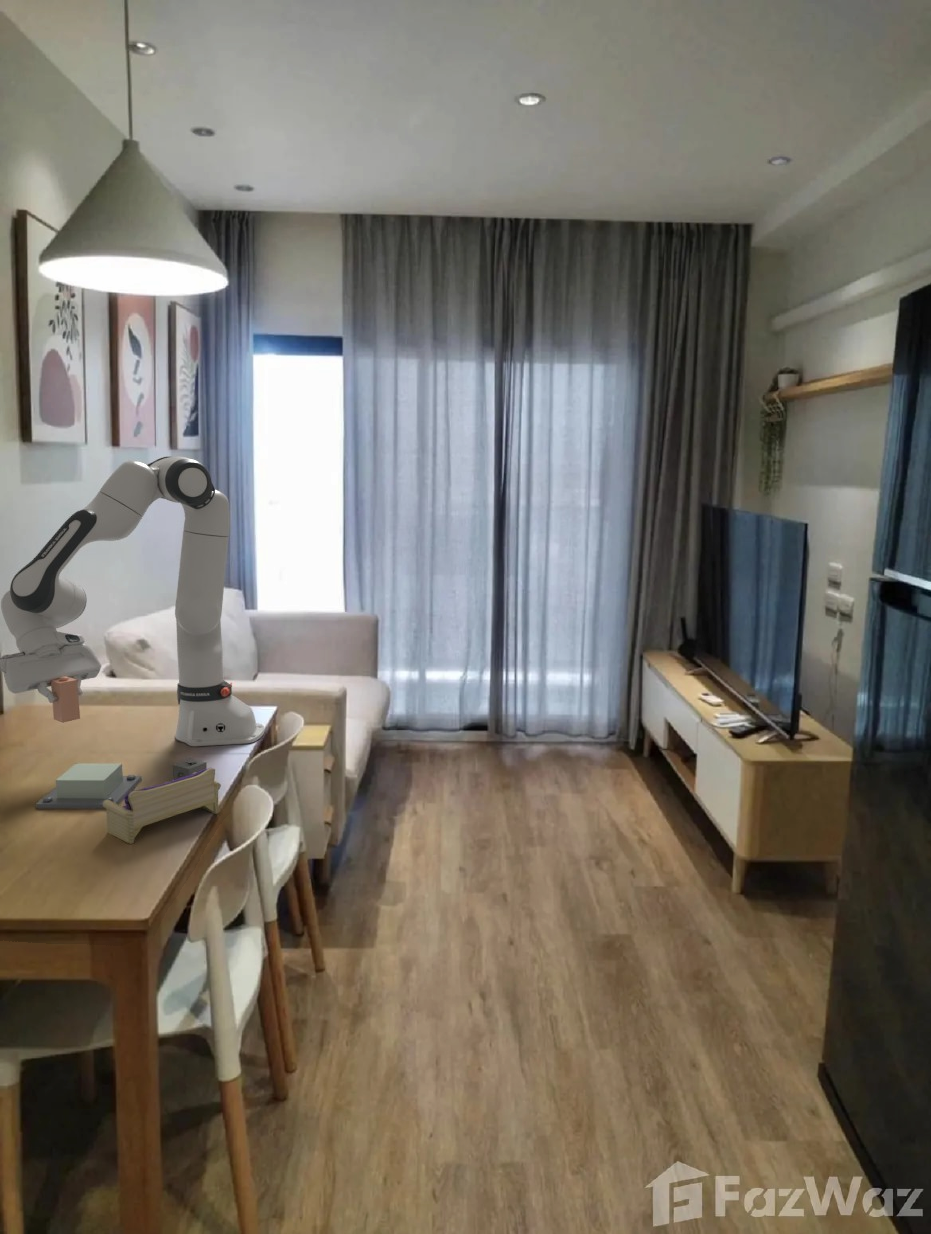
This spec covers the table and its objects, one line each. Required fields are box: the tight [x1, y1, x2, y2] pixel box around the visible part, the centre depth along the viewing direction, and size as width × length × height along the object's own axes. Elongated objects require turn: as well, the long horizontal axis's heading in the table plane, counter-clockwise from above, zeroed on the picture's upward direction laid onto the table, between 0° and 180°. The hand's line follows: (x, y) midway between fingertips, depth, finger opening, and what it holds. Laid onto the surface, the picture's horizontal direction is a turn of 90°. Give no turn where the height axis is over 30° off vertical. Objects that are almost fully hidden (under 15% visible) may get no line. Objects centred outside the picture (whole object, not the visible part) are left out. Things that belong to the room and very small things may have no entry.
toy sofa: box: [103, 767, 222, 845], centre depth 170 cm, size 21×9×10 cm, turn 141°
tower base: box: [35, 762, 143, 810], centre depth 184 cm, size 16×16×5 cm
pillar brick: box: [50, 676, 81, 723], centre depth 192 cm, size 4×4×10 cm
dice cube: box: [172, 758, 208, 781], centre depth 190 cm, size 5×5×5 cm
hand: (66, 698), depth 191 cm, fingers closed on pillar brick, 4 cm apart
